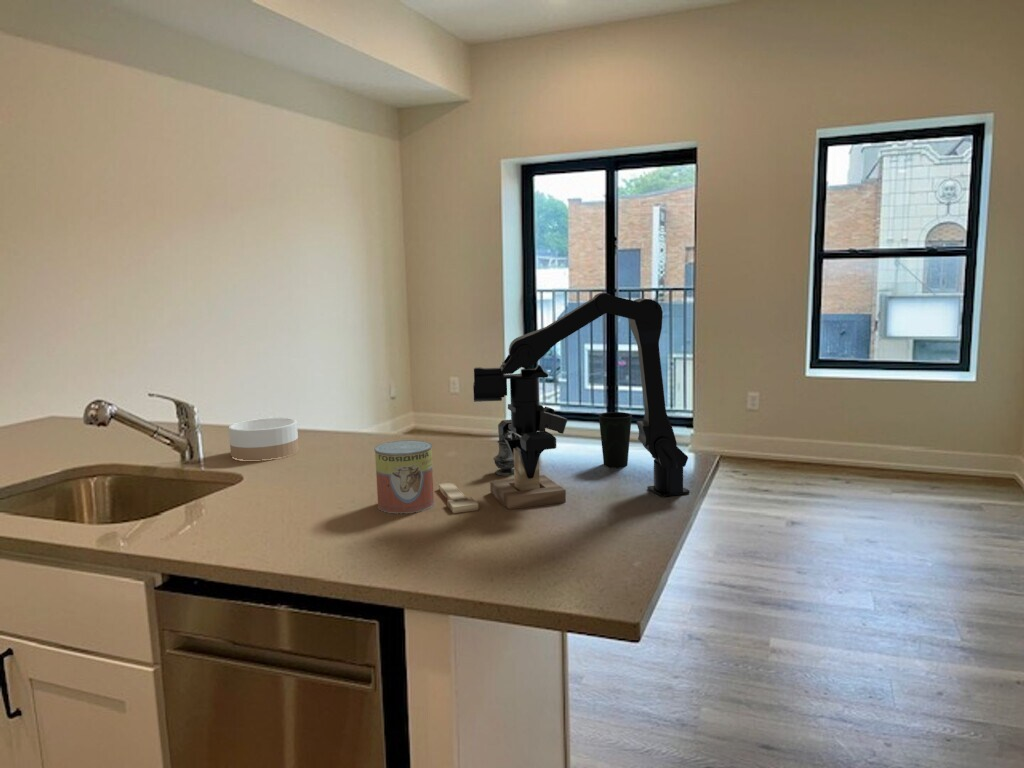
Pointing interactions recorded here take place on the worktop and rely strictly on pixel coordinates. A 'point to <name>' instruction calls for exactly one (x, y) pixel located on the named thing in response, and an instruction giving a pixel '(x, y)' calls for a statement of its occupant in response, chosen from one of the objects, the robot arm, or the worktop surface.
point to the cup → (615, 438)
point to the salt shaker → (504, 458)
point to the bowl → (263, 438)
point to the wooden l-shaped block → (457, 499)
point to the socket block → (527, 493)
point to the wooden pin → (524, 475)
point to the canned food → (404, 476)
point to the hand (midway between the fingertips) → (526, 475)
